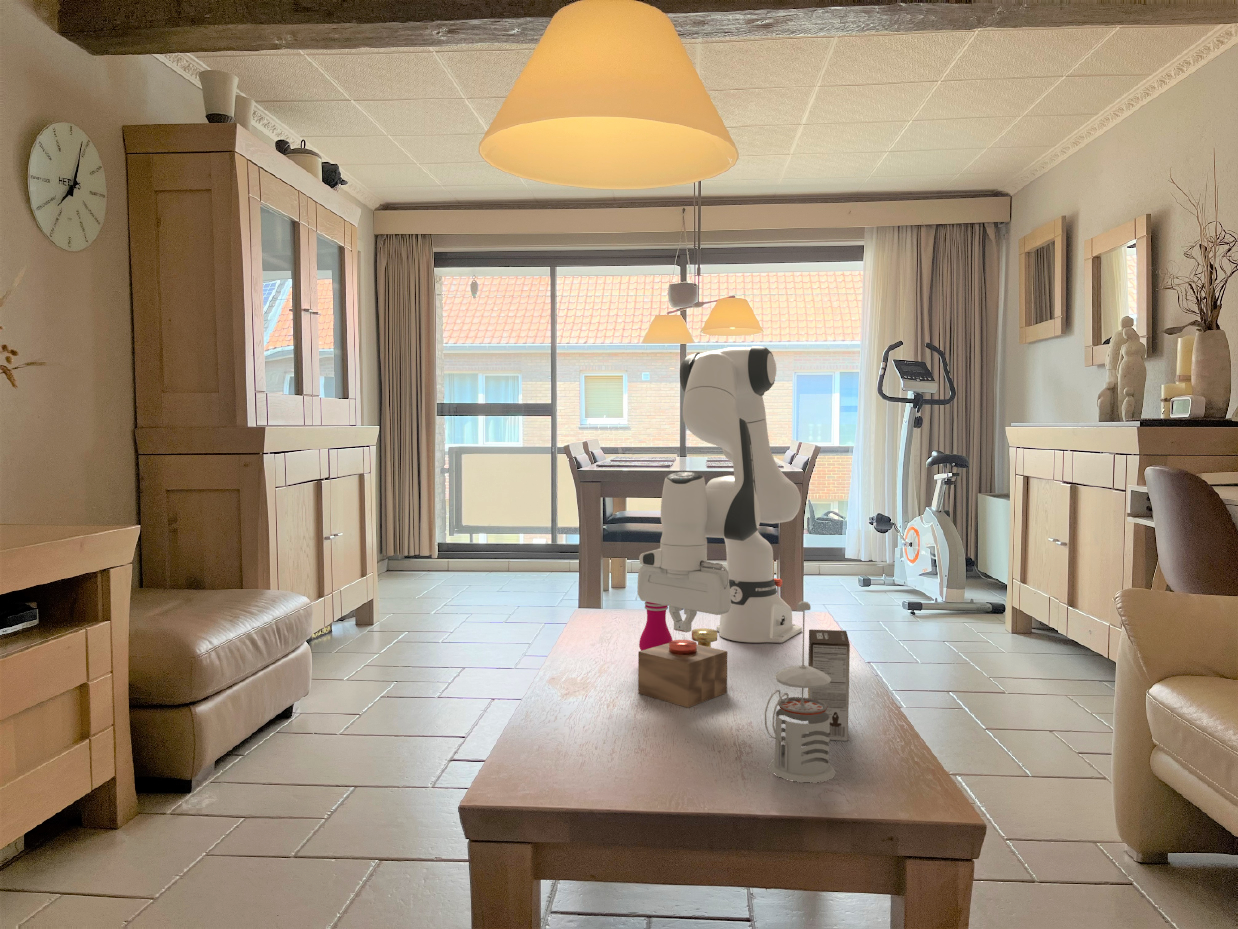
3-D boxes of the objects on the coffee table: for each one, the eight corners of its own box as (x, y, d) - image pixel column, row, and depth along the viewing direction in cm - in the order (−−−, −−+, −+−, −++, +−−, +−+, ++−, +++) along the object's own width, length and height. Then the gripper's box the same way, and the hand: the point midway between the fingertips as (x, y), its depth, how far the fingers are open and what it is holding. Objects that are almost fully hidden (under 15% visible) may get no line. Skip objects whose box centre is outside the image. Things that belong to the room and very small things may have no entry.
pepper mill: (673, 661, 181) (674, 569, 181) (672, 670, 174) (673, 575, 173) (640, 660, 182) (640, 568, 181) (637, 669, 175) (638, 574, 174)
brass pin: (701, 670, 174) (702, 627, 174) (721, 675, 171) (722, 631, 171) (686, 675, 171) (686, 631, 170) (706, 681, 167) (707, 635, 167)
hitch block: (677, 679, 168) (678, 640, 167) (726, 692, 160) (727, 651, 159) (638, 693, 159) (638, 651, 159) (688, 707, 151) (688, 663, 150)
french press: (850, 773, 122) (853, 603, 121) (792, 792, 116) (795, 612, 115) (801, 752, 130) (803, 592, 129) (744, 767, 124) (746, 600, 123)
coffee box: (806, 720, 145) (808, 628, 144) (844, 722, 144) (846, 630, 143) (808, 739, 136) (810, 641, 135) (849, 742, 134) (851, 643, 134)
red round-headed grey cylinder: (680, 684, 163) (680, 638, 163) (701, 690, 159) (702, 643, 159) (663, 690, 159) (663, 643, 159) (684, 696, 156) (685, 648, 155)
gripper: (738, 562, 153) (737, 637, 154) (653, 551, 167) (653, 620, 168) (718, 566, 149) (717, 643, 149) (632, 554, 163) (632, 625, 163)
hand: (682, 631), depth 159 cm, fingers closed
